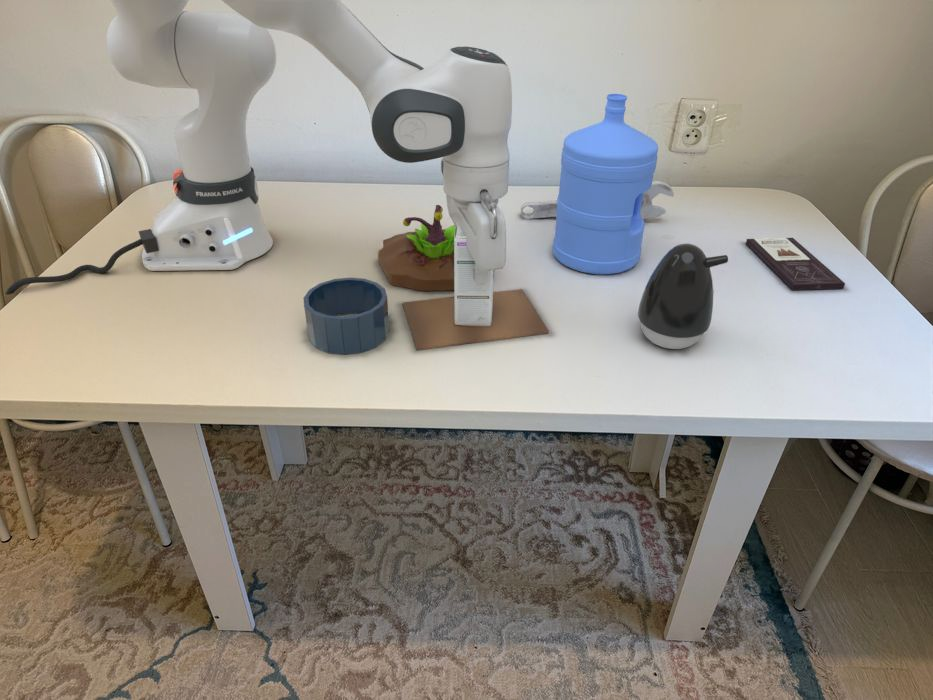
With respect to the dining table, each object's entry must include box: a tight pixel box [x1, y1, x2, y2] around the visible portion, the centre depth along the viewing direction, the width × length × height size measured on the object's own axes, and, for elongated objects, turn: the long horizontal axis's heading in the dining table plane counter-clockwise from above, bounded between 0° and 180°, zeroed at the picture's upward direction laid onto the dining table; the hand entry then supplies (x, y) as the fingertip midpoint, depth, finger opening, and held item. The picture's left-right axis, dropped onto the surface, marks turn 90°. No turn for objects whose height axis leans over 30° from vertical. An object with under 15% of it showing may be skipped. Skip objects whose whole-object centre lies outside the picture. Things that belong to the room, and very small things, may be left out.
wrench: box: [520, 180, 675, 220], centre depth 133 cm, size 8×2×30 cm
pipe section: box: [303, 277, 390, 356], centre depth 97 cm, size 12×12×6 cm
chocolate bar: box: [745, 237, 846, 291], centre depth 118 cm, size 9×1×18 cm
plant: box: [377, 204, 456, 292], centre depth 114 cm, size 20×20×11 cm
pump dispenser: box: [637, 243, 729, 350], centre depth 94 cm, size 10×10×15 cm
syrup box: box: [453, 223, 495, 326], centre depth 98 cm, size 6×6×14 cm
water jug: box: [552, 93, 659, 275], centre depth 113 cm, size 16×16×28 cm
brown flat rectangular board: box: [401, 288, 550, 351], centre depth 102 cm, size 20×13×1 cm, turn 104°
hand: (473, 269), depth 97 cm, fingers closed on syrup box, 6 cm apart
